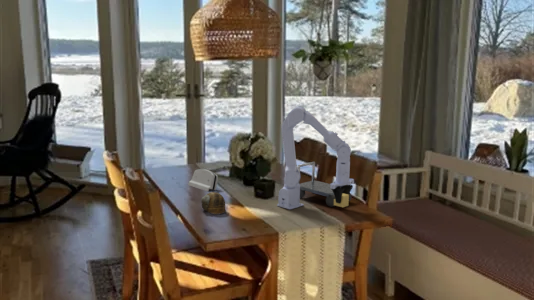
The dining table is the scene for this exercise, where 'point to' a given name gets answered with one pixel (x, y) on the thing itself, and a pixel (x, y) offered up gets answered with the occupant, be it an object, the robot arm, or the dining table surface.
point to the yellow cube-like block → (343, 201)
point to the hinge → (204, 180)
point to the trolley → (317, 187)
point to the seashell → (213, 203)
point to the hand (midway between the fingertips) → (341, 201)
